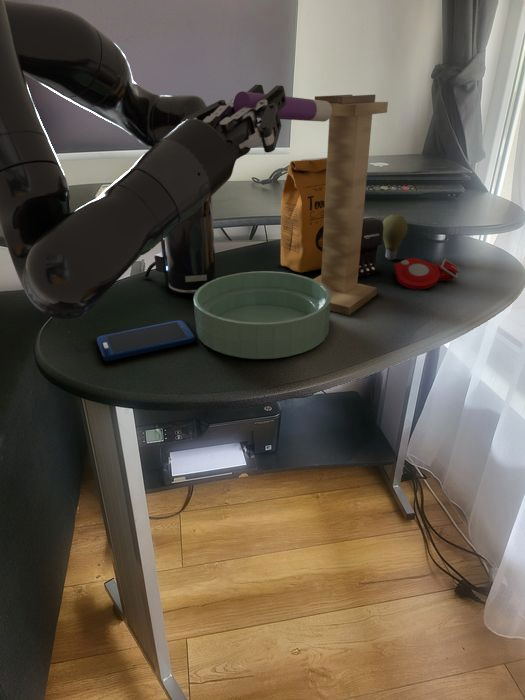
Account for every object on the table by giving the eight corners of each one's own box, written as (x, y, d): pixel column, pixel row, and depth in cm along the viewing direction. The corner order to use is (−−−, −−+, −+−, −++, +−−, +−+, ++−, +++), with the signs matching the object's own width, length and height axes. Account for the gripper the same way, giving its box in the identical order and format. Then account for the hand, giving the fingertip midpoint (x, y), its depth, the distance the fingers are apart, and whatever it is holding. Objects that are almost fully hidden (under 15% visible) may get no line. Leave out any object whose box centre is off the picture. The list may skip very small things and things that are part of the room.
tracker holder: (416, 288, 89) (383, 261, 95) (413, 306, 92) (381, 278, 98) (467, 264, 92) (431, 239, 98) (463, 282, 95) (428, 257, 101)
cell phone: (96, 340, 74) (95, 336, 74) (182, 323, 79) (182, 319, 79) (104, 362, 69) (103, 357, 68) (196, 341, 74) (196, 337, 73)
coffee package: (348, 269, 102) (357, 159, 91) (297, 279, 97) (300, 163, 86) (323, 256, 110) (329, 153, 99) (275, 264, 105) (275, 157, 94)
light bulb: (384, 254, 110) (389, 210, 105) (407, 259, 107) (413, 213, 102) (373, 260, 107) (377, 215, 102) (396, 265, 103) (402, 219, 99)
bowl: (168, 336, 76) (164, 301, 73) (250, 294, 91) (249, 263, 88) (279, 377, 65) (279, 338, 62) (352, 321, 79) (355, 287, 77)
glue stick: (249, 118, 54) (251, 92, 53) (232, 115, 56) (234, 90, 54) (330, 122, 67) (333, 102, 66) (315, 120, 69) (318, 99, 67)
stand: (289, 299, 88) (293, 96, 72) (320, 281, 96) (329, 94, 80) (348, 315, 82) (366, 96, 66) (376, 295, 89) (398, 94, 73)
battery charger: (353, 280, 96) (358, 223, 91) (342, 274, 99) (346, 218, 94) (381, 274, 99) (387, 218, 93) (370, 269, 102) (375, 214, 96)
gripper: (218, 147, 44) (315, 59, 51) (122, 135, 52) (219, 59, 59) (240, 215, 50) (326, 127, 57) (151, 194, 57) (237, 119, 64)
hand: (271, 93), depth 58 cm, fingers closed on glue stick, 2 cm apart
